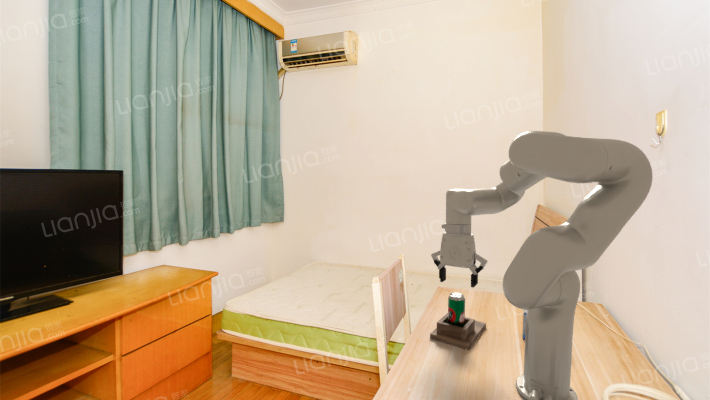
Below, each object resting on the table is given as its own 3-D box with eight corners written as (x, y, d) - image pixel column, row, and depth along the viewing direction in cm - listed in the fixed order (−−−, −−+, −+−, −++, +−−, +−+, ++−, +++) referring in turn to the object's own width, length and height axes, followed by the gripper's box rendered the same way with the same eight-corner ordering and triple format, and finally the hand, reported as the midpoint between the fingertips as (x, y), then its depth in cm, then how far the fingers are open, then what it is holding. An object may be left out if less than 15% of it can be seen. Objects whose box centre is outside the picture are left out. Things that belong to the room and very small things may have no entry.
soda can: (462, 336, 105) (463, 298, 104) (446, 333, 107) (446, 296, 106) (465, 330, 110) (466, 293, 109) (449, 326, 112) (450, 291, 111)
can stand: (468, 349, 100) (468, 333, 100) (430, 338, 107) (430, 322, 107) (485, 327, 115) (486, 312, 114) (451, 318, 122) (451, 304, 121)
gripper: (427, 228, 108) (427, 281, 109) (483, 233, 98) (482, 292, 99) (436, 225, 114) (436, 276, 115) (490, 229, 104) (490, 285, 105)
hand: (457, 283), depth 107 cm, fingers open, 9 cm apart
